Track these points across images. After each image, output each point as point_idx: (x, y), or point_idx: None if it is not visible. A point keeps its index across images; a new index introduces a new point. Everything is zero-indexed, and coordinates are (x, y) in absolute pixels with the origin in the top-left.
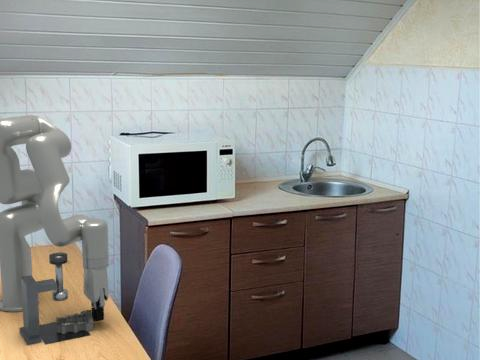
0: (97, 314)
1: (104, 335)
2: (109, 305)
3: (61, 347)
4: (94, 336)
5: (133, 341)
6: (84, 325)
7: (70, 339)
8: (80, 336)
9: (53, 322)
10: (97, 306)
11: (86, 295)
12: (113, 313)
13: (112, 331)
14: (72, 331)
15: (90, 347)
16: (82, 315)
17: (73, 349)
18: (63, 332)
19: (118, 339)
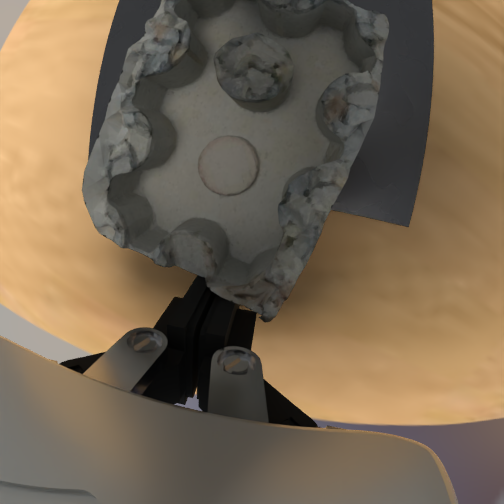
0: (161, 319)
1: (61, 240)
2: (398, 418)
3: (66, 7)
4: (69, 188)
5: (3, 301)
6: (143, 168)
7: (106, 51)
8: (101, 112)
9: (429, 63)
10: (91, 361)
11: (222, 441)
12: (304, 406)
13: (87, 296)
14: (188, 83)
15: (3, 131)
16: (281, 222)
17: (23, 57)
18: (190, 21)
19: (19, 269)
